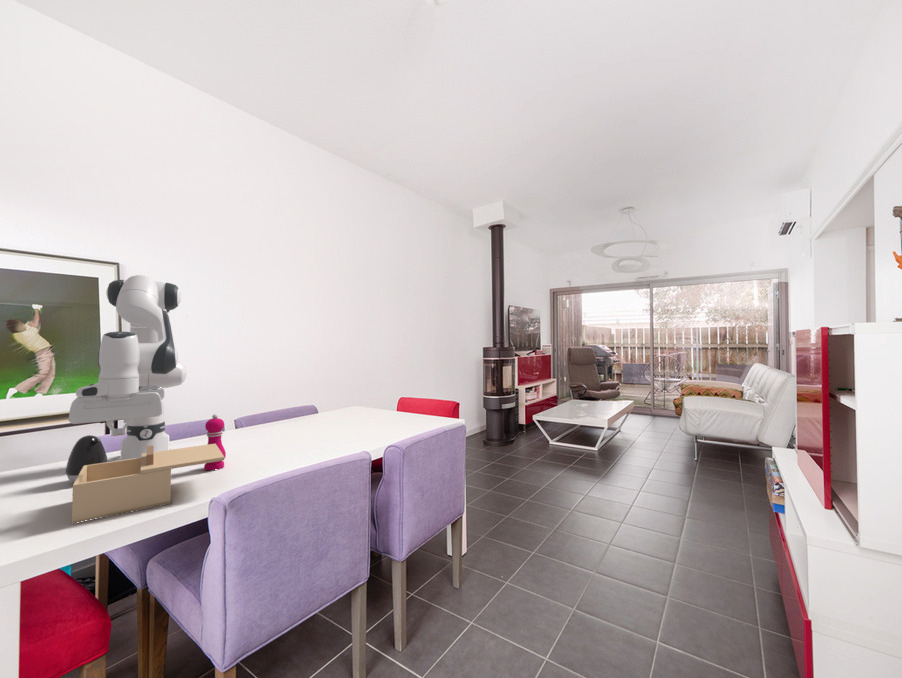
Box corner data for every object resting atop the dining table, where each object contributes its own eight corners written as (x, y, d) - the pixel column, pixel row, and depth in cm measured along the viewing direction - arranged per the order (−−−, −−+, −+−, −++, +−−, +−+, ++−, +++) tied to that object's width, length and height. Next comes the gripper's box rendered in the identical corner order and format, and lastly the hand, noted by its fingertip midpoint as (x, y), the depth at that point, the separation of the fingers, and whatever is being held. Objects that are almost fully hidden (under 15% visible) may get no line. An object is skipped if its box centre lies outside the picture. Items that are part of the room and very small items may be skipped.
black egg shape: (77, 488, 118) (78, 440, 119) (57, 484, 122) (59, 437, 122) (115, 477, 128) (116, 433, 128) (96, 474, 131) (97, 431, 132)
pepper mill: (230, 465, 141) (230, 413, 141) (213, 472, 134) (214, 416, 134) (215, 464, 143) (215, 412, 143) (197, 470, 136) (198, 415, 136)
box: (83, 499, 110) (83, 465, 110) (167, 483, 123) (168, 453, 123) (71, 524, 94) (72, 485, 95) (170, 503, 107) (171, 469, 107)
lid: (141, 456, 119) (142, 444, 119) (215, 446, 131) (215, 435, 131) (140, 473, 103) (140, 459, 103) (224, 460, 115) (224, 447, 115)
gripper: (164, 384, 117) (163, 428, 117) (71, 388, 104) (70, 438, 104) (164, 386, 112) (163, 432, 112) (68, 391, 99) (66, 443, 99)
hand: (118, 435), depth 108 cm, fingers closed
